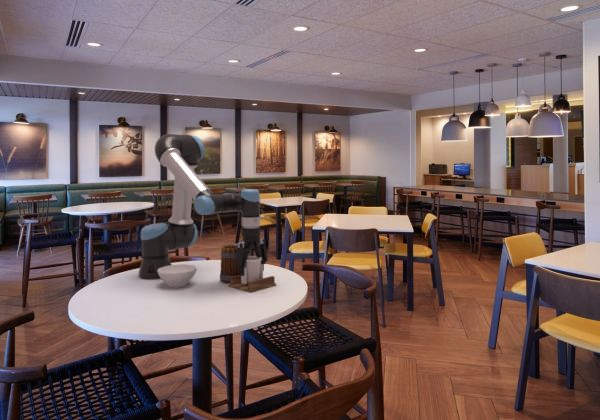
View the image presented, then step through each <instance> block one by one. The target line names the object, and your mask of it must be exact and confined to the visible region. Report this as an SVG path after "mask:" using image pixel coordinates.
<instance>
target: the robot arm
mask: <svg viewBox="0 0 600 420" xmlns="http://www.w3.org/2000/svg"><path fill="white" fill-rule="evenodd" d="M154 154H155V155H154V156H155V157H156V159H157V161H158V162H159V163H160V164H161V165H162V166H163V167H165V168H166V169H168V170H169V171H170V173H171V174H172V175H173V177H174V183H173V197H172V208H171V209H172V213H171V217H170V218H168V220H167V221H168V222H167V223H165V222H159V223H152V224H148V225H145V226H143V227H142V228H141V230H140V231H141V232H140V241H141V258H142V259H141V263H140V267H139V270H138V278H140V279H143V280H159V279H161V278H160V276H159V275H158V271H157V270H158V269H159V268H161V267H165V266H170V265H172V261H171V259H170V255H169V254H170V253H169V252H170V251H172V250H173V251H174V250H178V249H185V248H188V247H191V246H193V245H194V244H195V243H196V242H197V239H198V235H199V233H198V229H197V226H196V224H195V223H194V220H193V219H192V215H191V214H192V206H193V207H194V209H195V212H196V214H198V215H201V216H202V215H203V216H204V215H205V216H209V215H215V214H222V213H231V212H239V213H241V227H242V228H241V236H242V240H241V242H236V244H237V255H236V264H235V266H236V267H239V268H240V276H241V283H243V284H247V268H245V265H246V262H247V261H246V260H247V258H248V256H250V253H251V252H252V250H253V252H254V254H255V256H256V257H261V258H262V259H261V266H260V276H259V279H262V278H264V270H265V267H264V266H265V265H266V264H267V262H268V254H267V253H268V252H267V246H266V242H267V241H266V239H265V238H260V237H261V227H260V226H261V197H260V191H259V189H255V188H254V189H253V188H250V189H249V188H248V189H247V188H245V189H241V191H240V193H233V192H228V193H227V192H226V193H223V194H214V193H213V192H212V191H211V189H210V188H209V187H208V186H207V185H206V183H204V181H203V180H202V179H201V178H200V177H199V175H198V174H197V173H196V172H195V168H197V167H198V166H199V161H201V160H202V159H203V157H205V156H204V155H205V147H204V142H203V141H202V140H201V138H200V137H198V136H197V135H191V134H174V133H173V134H172V133H167V134H164V135H162V136H160V137H159V138H158V139H157V141H156V142H155V145H154ZM192 200H193V201H192ZM192 203H193V205H192Z"/></svg>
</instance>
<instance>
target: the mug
mask: <svg viewBox="0 0 600 420" xmlns="http://www.w3.org/2000/svg"><path fill="white" fill-rule="evenodd" d="M236 255H237V243H234V244H228V245H227V244H226V245H222V246H221V251H220V274H219V280H220V281H221V282H222V283H224V284H230V277H233V276H238V275H240V268H239V267H236V266H235V264H236Z"/></svg>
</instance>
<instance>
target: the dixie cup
mask: <svg viewBox="0 0 600 420" xmlns="http://www.w3.org/2000/svg"><path fill="white" fill-rule="evenodd" d="M261 259H262V258H261V257H256V255H248V258H247V260H246V261H247V262H246V265H245V268H247V283H248V282H251V281H254V280H258V279H259V276H260V266H261Z"/></svg>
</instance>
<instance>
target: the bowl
mask: <svg viewBox="0 0 600 420" xmlns="http://www.w3.org/2000/svg"><path fill="white" fill-rule="evenodd" d="M157 271H158V275H159V276H160V279H161V280H162V281H163V282H164V283H165V284H167V286H168V287H170V288H182V287H186V286H187V285H188V283H189V282H190V281H191V280H192V278H193V277H194V276H195V274H196V272H197V266H196V265H193V264H186V263H185V264H182V263H181V264H171V265H170V266H165V267H161V268H159V269H158V270H157Z"/></svg>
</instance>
